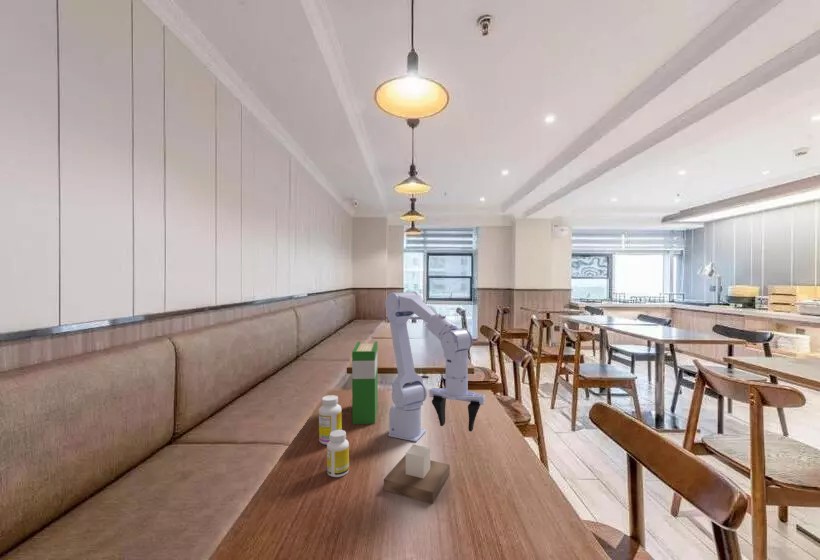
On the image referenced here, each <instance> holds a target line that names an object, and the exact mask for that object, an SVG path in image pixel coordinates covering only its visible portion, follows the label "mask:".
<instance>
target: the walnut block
mask: <svg viewBox="0 0 820 560" xmlns="http://www.w3.org/2000/svg"><path fill="white" fill-rule="evenodd" d="M450 465H451V464H450V463H449V464H447V463H445V462H444V463H443V462H439V461H435V460H431V459H430V470H429V471H428V473H427V474H426V476H425V477H424V478H419V477H415V476H411V475H407V474H406V454H405V455H404V456H403V457H402V458H401V459H400V460H399V461H398V462H397V464H396V465H395V466H394V467H393V468H392V469H391V470H390V472H388V474H387V475H385V477H384V478H383V490H384V491H386V492H390V493H394V494H398V495H401V496H404V497H407V498H411V499H414V500H417V501H418V500H419V501H421V500H422V502H425V503H428V504H434V503H435V501H436V499H437V497H439V496H438V495H439V494H440V492H441V491H442V489H443V487H444V486H445V484H446V482H447V480H448V478H449V476H450V474H451V471H450V469H451V467H450Z"/></svg>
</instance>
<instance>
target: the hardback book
mask: <svg viewBox="0 0 820 560" xmlns="http://www.w3.org/2000/svg"><path fill="white" fill-rule="evenodd" d="M351 351H352V352H351V363H352V364H351V366H352V369H351V375H352V376H351V377H352V379H351V381H352V382H351V383H352V384H351V387H352V388H351V389H352V390H351V395H352V396H351V397H352V400H351V401H352V402H351V403H352V405H351V407H352V410H351V411H352V413H351V414H352V423H351V424H352V425H371V424H372V425H374V424H376V419H377V412H378V405H377V404H378V403H379V402H378V401H379V399H378V398H379V397H378V394H379V393H378V392H379V391H378V390H379V389H378V388H379V387H378V383H379V382H378V379H379V378H378V371H379V369H378V366H379V365H378V364H379V363H378V341H374V343H361V341H357V343H356V344H355V346H354V348H353V350H351Z"/></svg>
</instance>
